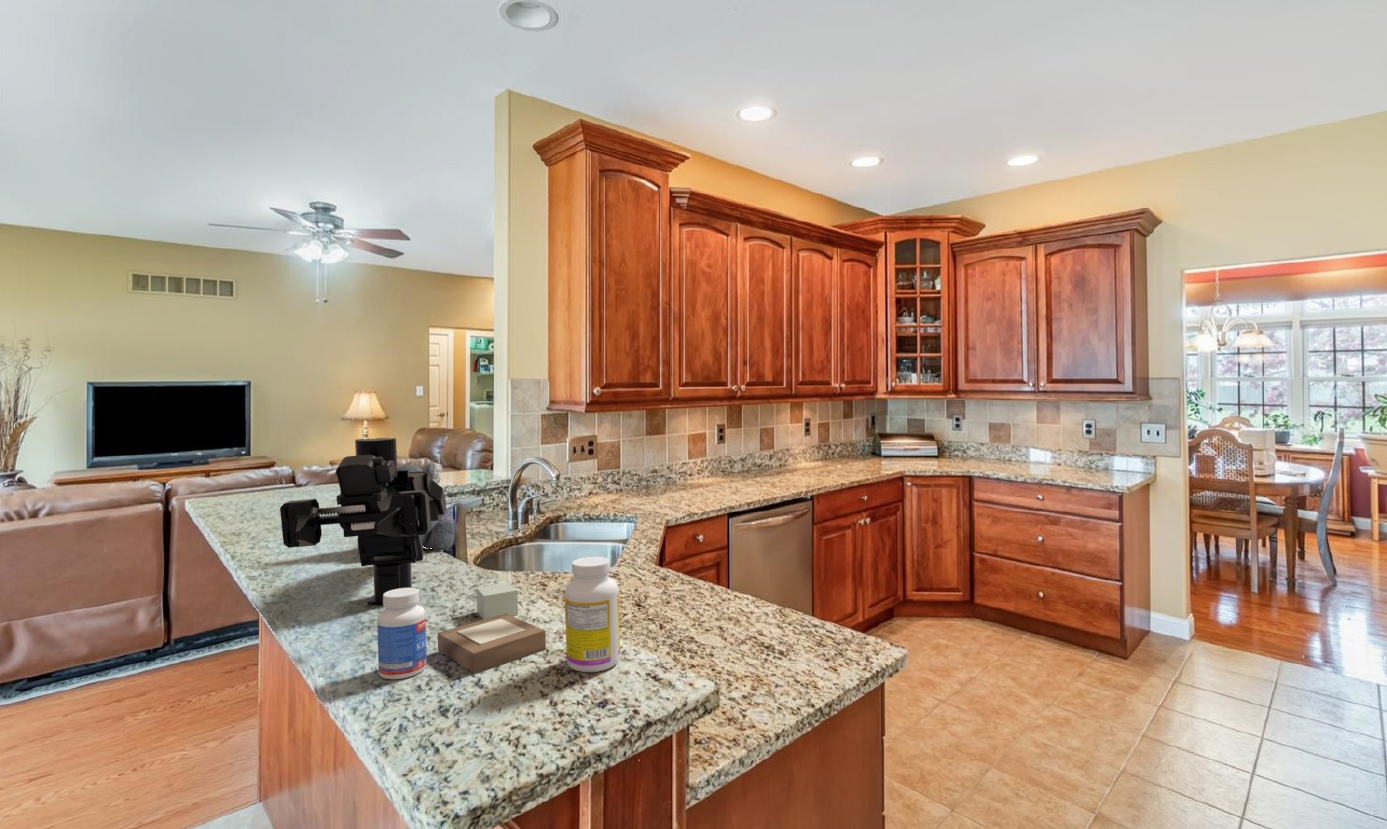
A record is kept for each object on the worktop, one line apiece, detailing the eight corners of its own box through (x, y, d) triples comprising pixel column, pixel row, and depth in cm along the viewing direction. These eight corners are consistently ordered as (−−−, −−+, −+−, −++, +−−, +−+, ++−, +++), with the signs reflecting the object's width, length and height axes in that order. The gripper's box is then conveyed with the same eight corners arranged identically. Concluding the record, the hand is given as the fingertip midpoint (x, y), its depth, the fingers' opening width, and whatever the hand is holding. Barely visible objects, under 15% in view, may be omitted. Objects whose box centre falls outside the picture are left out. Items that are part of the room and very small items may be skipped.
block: (477, 613, 99) (476, 587, 99) (509, 607, 102) (508, 582, 102) (484, 622, 95) (483, 596, 95) (518, 616, 98) (517, 590, 97)
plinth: (438, 651, 84) (437, 631, 84) (506, 630, 91) (506, 612, 91) (474, 674, 77) (473, 652, 77) (545, 649, 84) (545, 629, 84)
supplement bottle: (590, 648, 84) (588, 552, 84) (630, 658, 81) (628, 558, 80) (554, 667, 78) (552, 564, 78) (596, 679, 75) (594, 571, 75)
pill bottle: (426, 676, 76) (424, 595, 76) (376, 684, 74) (374, 601, 74) (427, 658, 82) (425, 583, 81) (380, 666, 80) (378, 588, 79)
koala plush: (372, 562, 131) (369, 468, 130) (359, 546, 146) (356, 461, 145) (458, 549, 141) (456, 461, 141) (438, 535, 156) (435, 456, 155)
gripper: (300, 459, 94) (249, 476, 79) (433, 450, 98) (409, 464, 83) (307, 533, 95) (258, 563, 80) (439, 521, 99) (416, 548, 83)
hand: (337, 532), depth 81 cm, fingers open, 9 cm apart
